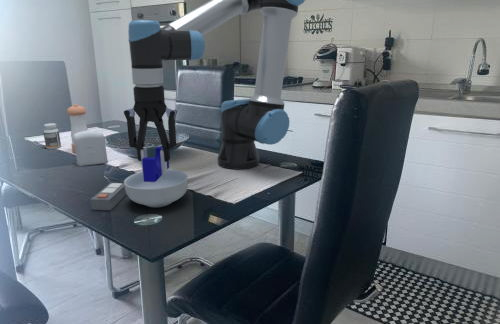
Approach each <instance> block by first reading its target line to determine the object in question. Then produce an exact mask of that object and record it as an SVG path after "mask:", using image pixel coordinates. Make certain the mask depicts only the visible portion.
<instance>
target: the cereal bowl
mask: <svg viewBox="0 0 500 324" xmlns="http://www.w3.org/2000/svg"><path fill="white" fill-rule="evenodd" d="M123 183H124V186H125V191H126V193H127V194H126V196H127V197H128V198H129V200H131V201H132V202H134V203H137V204H138V205H139V204H140V205H142V206H143V205H144V206H146V207H148V208H163V207H166V206H169V205H171V204H172V203H173V202H176V201H178V200H179V199H181V198H182V197H183V196H184V195H185V194H186V192H187V190H188V187H189V175H188V174H187V173H186V172H184V171H182V170H177V169H170V168H168V169H167V172H166V173H165V174H162V176H161V177H160V178H159V179H158V180H157V181H156V182H144V177H143V173H142V171H139V172H136V173H133V174H131V175H129V176H128V177H126V178H125V179H124V181H123Z"/></svg>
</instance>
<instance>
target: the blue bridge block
mask: <svg viewBox="0 0 500 324" xmlns="http://www.w3.org/2000/svg"><path fill="white" fill-rule="evenodd" d="M162 149H163V147H162V146H157V147H155V156H152V157H148V158H143V159H142V161H141V166H142V165H143V177H144V182H156V181H157V180H158V179H159V178H160V177H161V176H162V169H161V155H160V151H161V150H162ZM169 161H170V160H169ZM169 161H168V162H167V169H170V162H169Z"/></svg>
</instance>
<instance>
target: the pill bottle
mask: <svg viewBox="0 0 500 324" xmlns="http://www.w3.org/2000/svg"><path fill="white" fill-rule="evenodd" d="M57 125H58V124H57V123H53V122H49V123H45V124H43V129H44V130H43V132H42V133H43V138H44V144H45V147H46V149H48V150H53V149H58V148H61V147H62V144H61V143H62V142H61V137H60V136H61V135H60V130H59V129H58V128H57V127H58V126H57Z"/></svg>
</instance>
